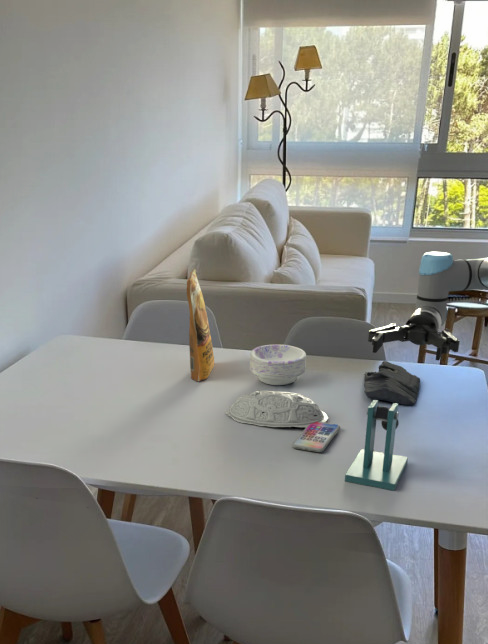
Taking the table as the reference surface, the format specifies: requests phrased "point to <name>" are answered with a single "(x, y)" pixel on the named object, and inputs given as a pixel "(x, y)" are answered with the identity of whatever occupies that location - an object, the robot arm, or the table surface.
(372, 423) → the bracket
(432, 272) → the robot arm
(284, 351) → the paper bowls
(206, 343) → the pancake mix bag
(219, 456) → the table surface
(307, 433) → the smartphone
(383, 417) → the lever
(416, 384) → the dark slate chunk
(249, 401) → the carved stone relief
